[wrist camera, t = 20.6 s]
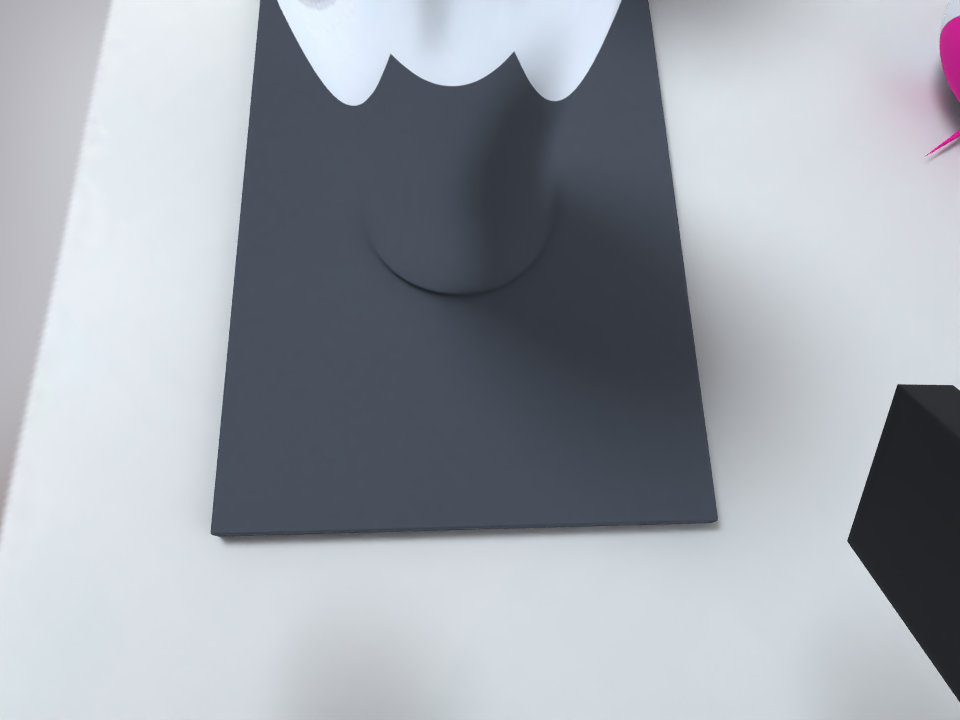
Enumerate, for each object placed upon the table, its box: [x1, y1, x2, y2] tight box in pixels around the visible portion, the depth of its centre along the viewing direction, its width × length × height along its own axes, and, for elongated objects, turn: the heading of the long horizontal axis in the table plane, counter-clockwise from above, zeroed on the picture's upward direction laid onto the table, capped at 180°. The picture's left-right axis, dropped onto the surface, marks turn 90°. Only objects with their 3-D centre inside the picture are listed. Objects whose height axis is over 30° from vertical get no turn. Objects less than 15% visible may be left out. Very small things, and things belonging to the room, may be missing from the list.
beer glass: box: [277, 0, 622, 295], centre depth 15 cm, size 7×7×15 cm
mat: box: [211, 0, 718, 536], centre depth 23 cm, size 20×14×1 cm
